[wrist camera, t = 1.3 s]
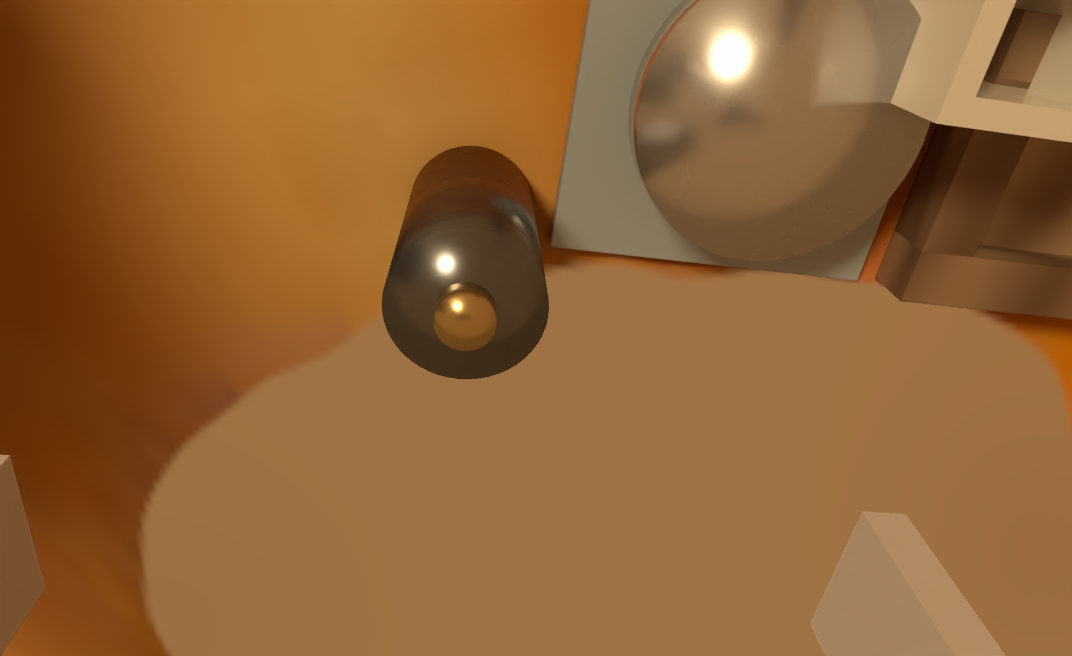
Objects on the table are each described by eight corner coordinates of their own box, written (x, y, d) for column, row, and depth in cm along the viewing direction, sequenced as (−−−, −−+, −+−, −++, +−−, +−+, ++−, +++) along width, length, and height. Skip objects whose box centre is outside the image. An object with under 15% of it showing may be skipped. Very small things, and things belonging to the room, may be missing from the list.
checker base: (549, 241, 27) (551, 246, 27) (611, -137, 21) (613, -138, 21) (851, 275, 28) (857, 280, 28) (985, -71, 23) (995, -71, 22)
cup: (840, 80, 25) (935, 123, 19) (908, -125, 22) (1041, -140, 17) (1001, 104, 25) (1134, 151, 20) (1087, -92, 23) (1269, -96, 17)
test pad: (604, 228, 25) (610, 245, 23) (663, -71, 20) (675, -70, 19) (851, 256, 26) (871, 274, 24) (957, -21, 21) (987, -18, 20)
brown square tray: (875, 277, 28) (900, 301, 27) (986, 3, 24) (1026, 9, 22) (1103, 303, 30) (1141, 326, 28) (1252, 46, 25) (1309, 55, 23)
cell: (407, 255, 27) (374, 388, 19) (414, 138, 25) (381, 234, 17) (524, 268, 27) (537, 401, 20) (540, 154, 25) (563, 254, 18)
